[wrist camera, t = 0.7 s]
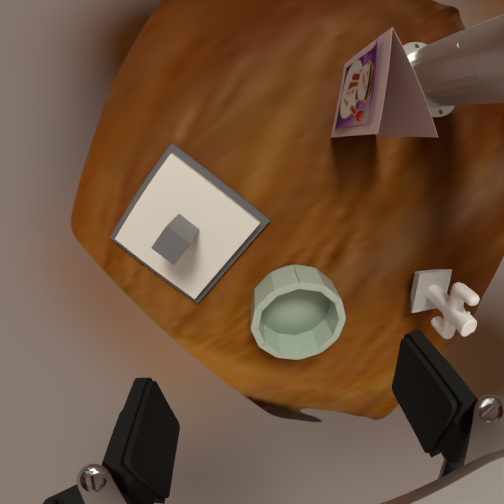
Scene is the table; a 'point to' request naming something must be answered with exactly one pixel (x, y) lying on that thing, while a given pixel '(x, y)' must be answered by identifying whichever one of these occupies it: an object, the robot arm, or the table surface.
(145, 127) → the table surface
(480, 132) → the table surface
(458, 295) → the figurine
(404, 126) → the greeting card
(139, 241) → the lid
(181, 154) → the mat
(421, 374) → the robot arm
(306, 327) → the bowl
